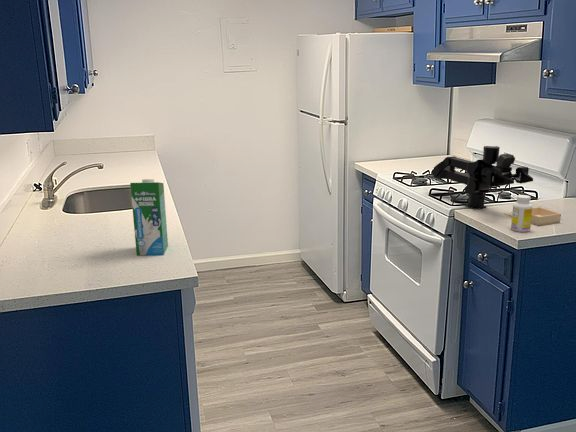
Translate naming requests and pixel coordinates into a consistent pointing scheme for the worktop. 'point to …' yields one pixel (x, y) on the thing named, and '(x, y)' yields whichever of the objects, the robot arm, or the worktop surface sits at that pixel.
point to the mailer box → (542, 216)
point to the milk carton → (149, 217)
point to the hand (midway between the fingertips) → (523, 180)
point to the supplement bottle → (521, 214)
